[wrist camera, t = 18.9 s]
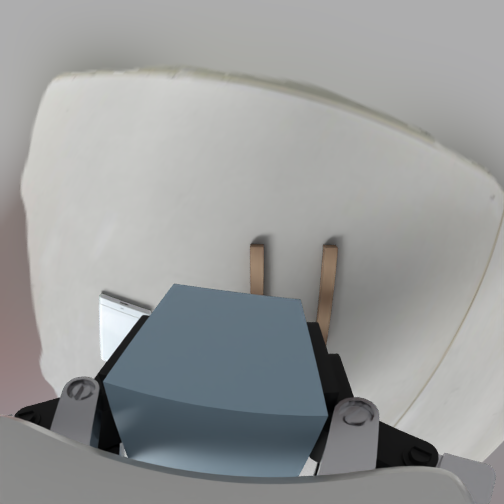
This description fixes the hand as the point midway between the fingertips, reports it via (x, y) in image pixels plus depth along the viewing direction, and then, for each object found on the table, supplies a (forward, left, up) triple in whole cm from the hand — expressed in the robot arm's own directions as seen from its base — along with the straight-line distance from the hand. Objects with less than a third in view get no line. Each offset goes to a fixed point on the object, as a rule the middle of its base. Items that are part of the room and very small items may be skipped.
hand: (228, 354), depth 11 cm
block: (0, 0, -1) cm, 1 cm away
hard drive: (-17, +20, -24) cm, 35 cm away
